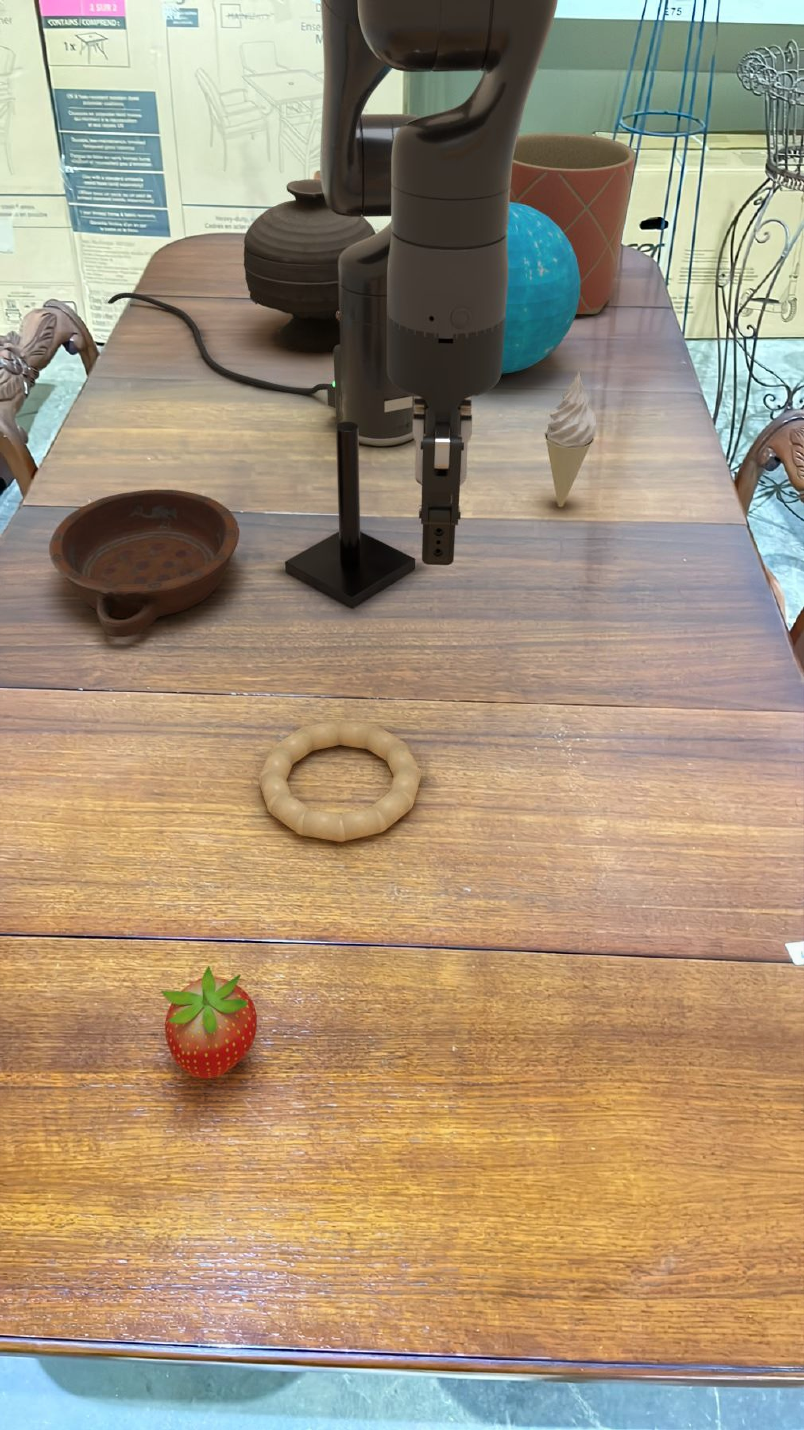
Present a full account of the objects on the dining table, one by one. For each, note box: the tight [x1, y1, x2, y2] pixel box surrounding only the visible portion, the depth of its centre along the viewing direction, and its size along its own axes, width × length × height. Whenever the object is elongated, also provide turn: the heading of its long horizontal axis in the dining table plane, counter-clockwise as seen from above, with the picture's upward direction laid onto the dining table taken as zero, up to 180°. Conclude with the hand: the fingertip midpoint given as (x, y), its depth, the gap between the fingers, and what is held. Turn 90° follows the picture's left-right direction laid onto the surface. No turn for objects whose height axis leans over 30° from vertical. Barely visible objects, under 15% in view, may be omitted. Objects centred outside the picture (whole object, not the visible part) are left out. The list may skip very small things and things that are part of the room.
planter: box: [510, 132, 637, 315], centre depth 153 cm, size 19×19×20 cm
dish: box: [48, 488, 240, 638], centre depth 102 cm, size 18×22×5 cm
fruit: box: [160, 965, 258, 1079], centre depth 63 cm, size 5×5×8 cm
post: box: [284, 422, 416, 609], centre depth 100 cm, size 9×9×15 cm
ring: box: [258, 719, 422, 843], centre depth 82 cm, size 12×12×2 cm
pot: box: [243, 178, 377, 353], centre depth 142 cm, size 18×18×20 cm
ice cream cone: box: [543, 371, 597, 508], centre depth 110 cm, size 5×5×15 cm
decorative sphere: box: [501, 202, 580, 375], centre depth 135 cm, size 20×20×20 cm
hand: (438, 530), depth 78 cm, fingers open, 8 cm apart
